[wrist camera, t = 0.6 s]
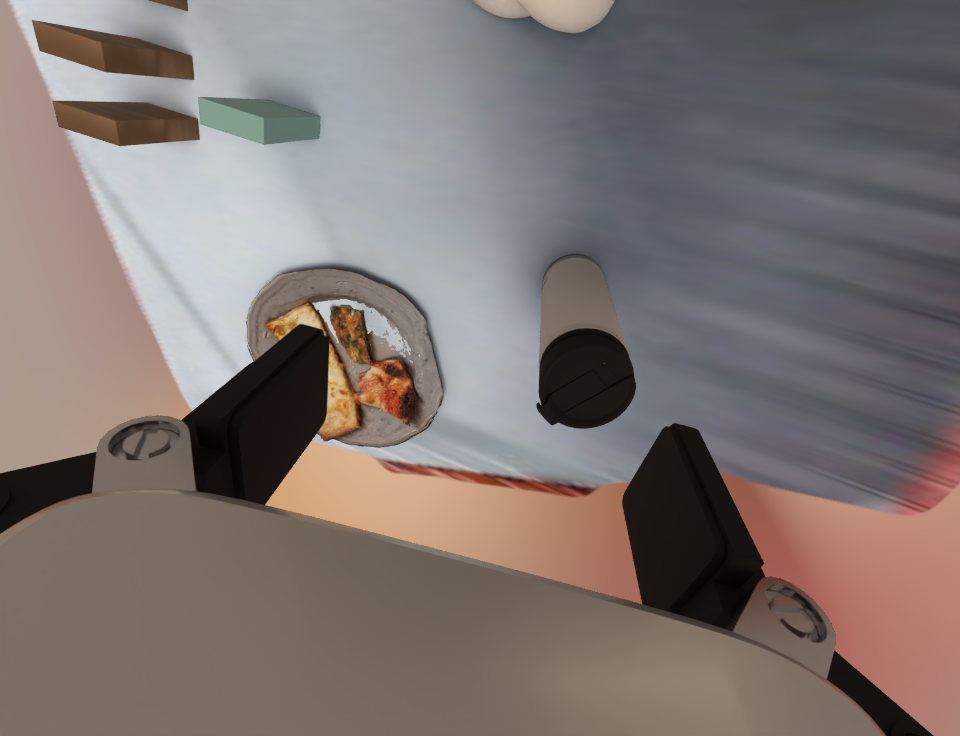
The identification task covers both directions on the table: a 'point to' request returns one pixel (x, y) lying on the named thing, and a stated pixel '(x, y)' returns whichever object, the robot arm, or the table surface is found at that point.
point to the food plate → (356, 354)
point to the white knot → (552, 12)
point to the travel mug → (581, 348)
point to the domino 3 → (258, 120)
